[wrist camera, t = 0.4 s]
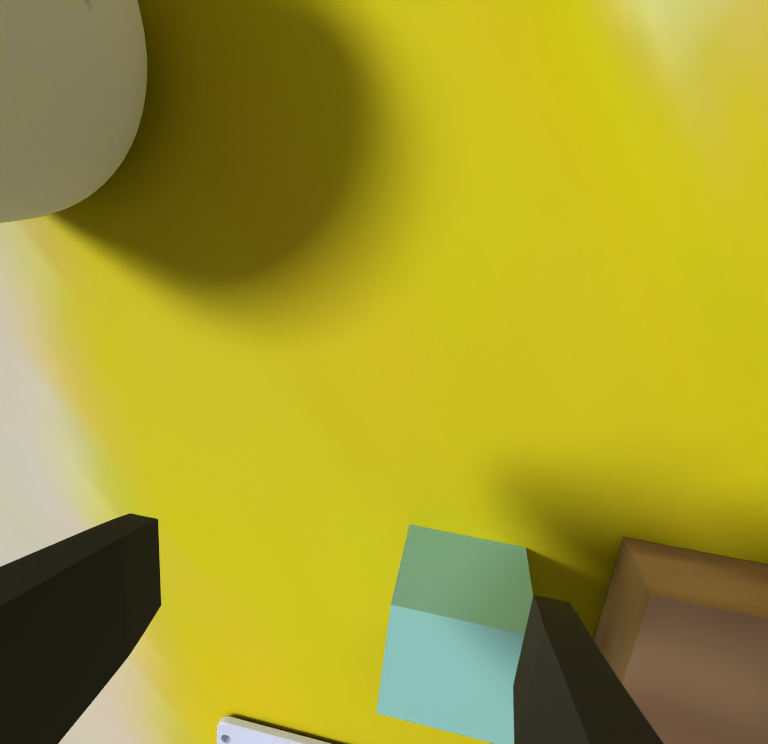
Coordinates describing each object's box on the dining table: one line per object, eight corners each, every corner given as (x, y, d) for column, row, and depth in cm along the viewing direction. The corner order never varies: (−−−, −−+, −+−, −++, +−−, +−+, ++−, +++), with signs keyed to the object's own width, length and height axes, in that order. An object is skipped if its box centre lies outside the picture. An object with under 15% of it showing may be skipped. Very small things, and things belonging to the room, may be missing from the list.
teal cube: (504, 639, 20) (512, 747, 16) (397, 615, 21) (376, 712, 17) (525, 546, 19) (539, 637, 15) (410, 523, 20) (391, 604, 15)
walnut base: (843, 826, 20) (904, 926, 17) (559, 755, 21) (572, 836, 18) (968, 602, 17) (1070, 680, 14) (623, 537, 18) (650, 595, 15)
